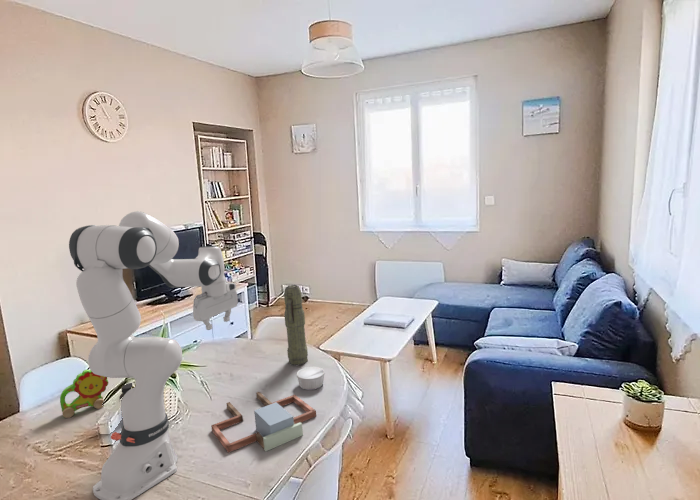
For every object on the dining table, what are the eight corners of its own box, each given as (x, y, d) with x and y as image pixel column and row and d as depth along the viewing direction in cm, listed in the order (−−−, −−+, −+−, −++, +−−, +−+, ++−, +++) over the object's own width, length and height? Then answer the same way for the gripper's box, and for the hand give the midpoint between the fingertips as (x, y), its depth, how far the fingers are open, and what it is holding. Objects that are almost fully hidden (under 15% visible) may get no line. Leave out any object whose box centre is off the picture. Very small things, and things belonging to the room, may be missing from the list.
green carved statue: (285, 367, 191) (278, 290, 185) (291, 356, 202) (285, 283, 197) (305, 366, 190) (299, 289, 184) (310, 356, 201) (304, 282, 196)
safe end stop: (264, 449, 132) (263, 437, 131) (301, 433, 139) (300, 422, 138) (266, 451, 131) (264, 439, 130) (303, 435, 138) (302, 423, 137)
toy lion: (63, 420, 157) (56, 380, 154) (62, 414, 161) (55, 375, 159) (112, 405, 166) (106, 367, 163) (110, 399, 170) (104, 363, 168)
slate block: (256, 430, 143) (254, 410, 142) (278, 421, 147) (276, 402, 146) (272, 446, 133) (270, 425, 132) (294, 436, 138) (293, 416, 137)
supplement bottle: (128, 424, 151) (123, 391, 149) (118, 418, 155) (113, 387, 154) (147, 415, 157) (142, 383, 155) (137, 410, 161) (133, 379, 159)
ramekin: (321, 392, 166) (320, 379, 165) (293, 390, 168) (292, 378, 168) (328, 378, 177) (327, 366, 176) (302, 378, 179) (301, 366, 178)
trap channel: (201, 417, 153) (200, 411, 153) (281, 388, 170) (280, 384, 170) (235, 462, 127) (234, 455, 126) (325, 423, 144) (324, 417, 144)
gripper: (200, 296, 148) (204, 335, 151) (238, 283, 167) (242, 317, 169) (186, 295, 151) (191, 333, 153) (225, 282, 169) (229, 316, 172)
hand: (218, 325), depth 161 cm, fingers open, 8 cm apart
